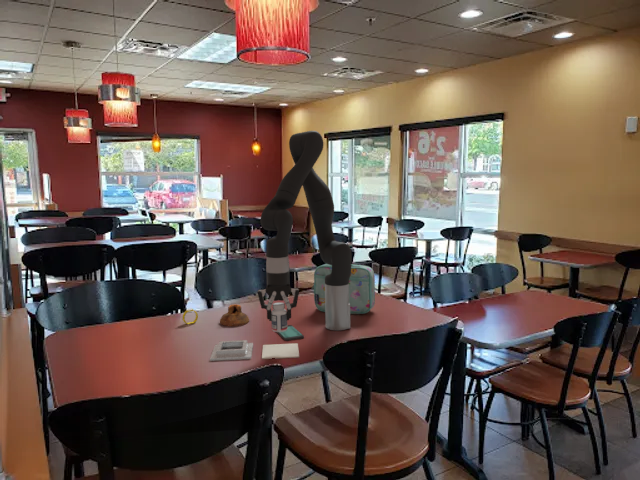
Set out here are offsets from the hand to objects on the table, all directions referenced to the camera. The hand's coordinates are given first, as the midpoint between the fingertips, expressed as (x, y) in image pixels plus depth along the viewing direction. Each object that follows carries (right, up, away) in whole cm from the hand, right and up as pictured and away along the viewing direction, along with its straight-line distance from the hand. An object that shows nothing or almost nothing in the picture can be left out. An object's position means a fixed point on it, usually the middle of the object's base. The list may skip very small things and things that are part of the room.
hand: (279, 319), depth 161 cm
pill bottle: (0, -4, 0) cm, 4 cm away
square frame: (-16, -11, +1) cm, 19 cm away
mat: (0, -11, +1) cm, 11 cm away
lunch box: (+24, -4, +47) cm, 53 cm away
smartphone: (+2, -9, +20) cm, 22 cm away
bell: (-21, -7, +35) cm, 41 cm away
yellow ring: (-39, -7, +34) cm, 52 cm away
